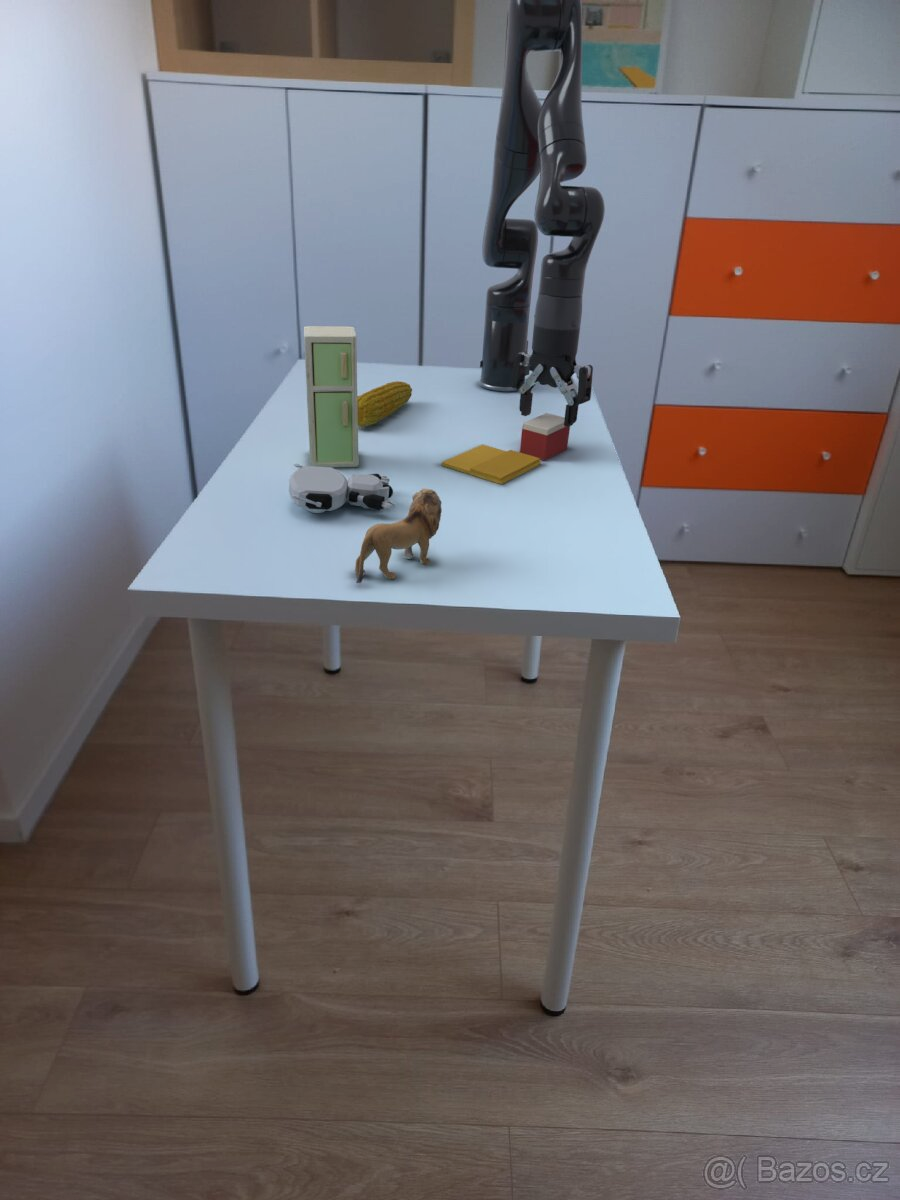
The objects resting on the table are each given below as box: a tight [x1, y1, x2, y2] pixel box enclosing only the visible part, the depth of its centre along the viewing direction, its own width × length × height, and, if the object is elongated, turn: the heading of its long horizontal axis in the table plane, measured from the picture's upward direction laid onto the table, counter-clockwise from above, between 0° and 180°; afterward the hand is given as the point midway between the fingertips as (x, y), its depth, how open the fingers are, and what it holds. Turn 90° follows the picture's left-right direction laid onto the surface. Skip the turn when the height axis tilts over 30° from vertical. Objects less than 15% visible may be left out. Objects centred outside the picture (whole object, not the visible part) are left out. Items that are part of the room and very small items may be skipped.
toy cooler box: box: [519, 412, 571, 461], centre depth 144 cm, size 8×5×6 cm, turn 143°
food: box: [357, 380, 413, 428], centre depth 157 cm, size 21×6×6 cm, turn 159°
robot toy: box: [288, 463, 395, 514], centre depth 121 cm, size 12×4×15 cm
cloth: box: [441, 444, 542, 485], centre depth 138 cm, size 12×12×1 cm
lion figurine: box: [354, 488, 443, 584], centre depth 104 cm, size 15×5×9 cm, turn 142°
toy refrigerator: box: [303, 325, 360, 468], centre depth 131 cm, size 8×7×21 cm
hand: (546, 420), depth 143 cm, fingers open, 8 cm apart
